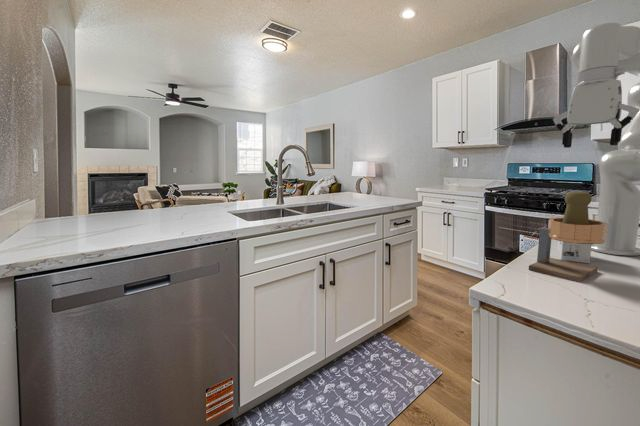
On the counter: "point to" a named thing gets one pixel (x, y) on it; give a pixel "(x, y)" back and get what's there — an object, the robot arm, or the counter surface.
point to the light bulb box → (574, 252)
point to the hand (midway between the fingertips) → (589, 146)
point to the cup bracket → (571, 234)
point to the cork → (577, 208)
